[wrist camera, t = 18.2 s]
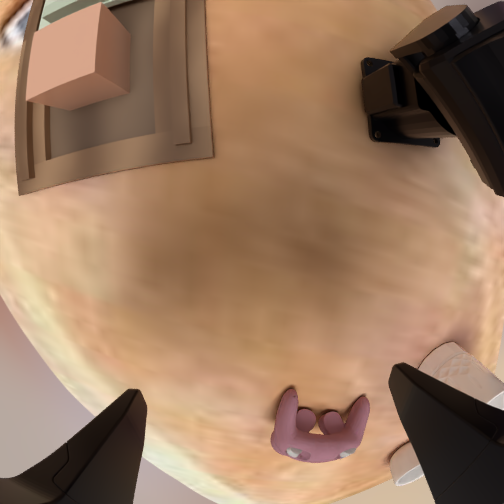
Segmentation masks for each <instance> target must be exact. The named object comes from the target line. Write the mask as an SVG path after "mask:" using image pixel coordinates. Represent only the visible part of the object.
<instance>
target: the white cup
mask: <svg viewBox="0 0 504 504" xmlns="http://www.w3.org/2000/svg"><path fill="white" fill-rule="evenodd" d="M418 370H420V371H422V372H424V373H426V374H428V375H430V376H432V377H434V378H435V379H437V380H439V381H441V382H443V383H445V384H447V385H449V386H451V387H453V388H455V389H457V390H459V391H461V392H464V393H466V394H468V395H470V396H472V397H474V399H475V398H476V399H478V400H480V401H482V402H484V403H486V404H489V405H491V406H493V407H496V408H499V409H501V410H504V383H503V382H502V381H501V380H499V379H498V378H497V377H496V376H495V375H494V374H493V373H492V372H491V371H490V370H489V369H488V368H487V367H485V366H484V365H483V364H482V363H481V362H480V361H478V360H477V359H476V358H475V357H474V356H472V355H471V354H469V353H467V352H466V351H465V350H464V349H463V348H462V347H461V346H459V345H458V344H456V343H455V342H449V343H444V344H443V345H441V346H439V347H438V348H436V349H435V350H433V351H432V352H431V353H430V354H429V355H428V356H427V357H426V358H425V359H424V361H423V362H422V364H421V365H420V367H419V368H418Z"/></svg>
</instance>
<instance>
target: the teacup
mask: <svg viewBox="0 0 504 504" xmlns="http://www.w3.org/2000/svg"><path fill="white" fill-rule="evenodd" d="M390 471H391V474H392V478H393V481H394V483H395V485H397V486H402V485H406V484H408V483H411V482H413V481H415V480H417V479H419V478H421V477H422V476H424V473H423V470H422V468H421V465H420V463H419V461H418V458H417V456H416V454H415V451H414V449H413V447H412V445H411V442H409V443H407V444H405V445H403V446H402V447H400V448H399V449H398V450H397V451H396V452H395V453H394V455H393V456H392V458H391V460H390Z"/></svg>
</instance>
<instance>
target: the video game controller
mask: <svg viewBox="0 0 504 504" xmlns="http://www.w3.org/2000/svg"><path fill="white" fill-rule="evenodd" d="M297 409H298V396H297V392H296V391H295V390H294V389H289V390H287V391H286V392H285V394H284V395H283V397H282V399H281V402H280V404H279V407H278V411H277V415H276V421H275V428H274V431H273V433H272V435H271V445H272V447H273V449H274V450H275V451H276V452H278V453H279V454H282V455H285V456H289V457H291V458H293V459H296V460H299V461H303V462H311V463H321V462H328V461H333V460H337V459H340V458H344V457H346V456H348V455H350V454H353V453H354V452H355V450H356V448H357V447H358V446H359V445H360V443H361V441H362V437H363V434H364V430H365V427H366V423H367V420H368V417H369V412H370V404H369V401H368V399H367V398H366V397H360V398H359V399H358V400H357V401H356V402H355V404H354V405H353V407H352V409H351V411H350V413H349V415H348V418H347V420H346V423H345V424H344V423H343V421H342V419H341V417H340V415H339V414H338V413H337V412H329V413H326V414H324V415H322V416H321V417H320V419H319V422H318V424H319V427H320V430H321V431H322V432H323V434H324V435H321V434H312V433H308V432H309V431H310V430H311V429H312V428H313V427H314V425H315V423H316V417H315V415H314V413H313V412H312V411H310V410H307V409H302V410H299V411H297Z"/></svg>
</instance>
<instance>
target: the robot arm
mask: <svg viewBox="0 0 504 504" xmlns="http://www.w3.org/2000/svg"><path fill="white" fill-rule="evenodd" d="M390 52H391V53H392V54H393V55H394V57H395V58H396V59H397V58H398V59H399V60H397V61H396V62H391V61H386V60H381V59H375V58H369V57H366V58H364V59H363V60H362V62H361V65H362V72H363V79H362V87H363V95H364V103H365V112H366V113H367V114H368V123H369V135H370V138H371V140H372V141H374V142H383V143H396V144H408V145H418V146H427V147H438V146H439V145H440V138H446V137H458V139H459V140H460V142H461V143H462V145H463V147H464V148H465V150H466V152H467V154H468V155H469V157H470V159H471V160H470V161H471V163H472V165H473V167H474V168H475V169H476V170H477V172H478V174H479V176H480V178H481V180H482V182H484V183H485V184H486V185H487V186H489V187H490V188H491V189H493V190H494V192H495V194H496V195H499V196H502V197H504V1H500V2H496V3H494V4H492V5H490V6H487V7H485V8H483V9H481V10H479V11H477V12H475V13H473V12H472V11H471V9H470V8H469V7H468V6H467V5H453V6H445V7H444V8H442V9H440V10H439V11H437V12H436V13H434V14H432V15H431V16H429V17H428V18H426V19H425V20H423V21H422V22H421V23H420V24H419V25H418V26H417V27H416V28H414V29H413V30H412V31H411V32H410V33H409V34H408V35H407V36H406V37H405V38H403V39H402V40H401V41H400V42H399V43H398V44H397V45H396V46H395V47H394V48H393V49H392V50H390ZM367 62H369V63H370V66H368V65H367ZM376 132H377V133H378V135H379V136H378V138H376V137H375V133H376ZM433 140H435V143H434V141H433ZM388 384H389V388H390V391H391V394H392V397H393V400H394V403H395V406H396V409H397V412H398V415H399V418H400V420H401V422H402V425H403V427H404V429H405V431H406V433H407V436H408V438H409V440H410V442H411V445H412V447H413V449H414V451H415V454H416V456H417V458H418V461H419V463H420V465H421V468H422V470H423V473H424V475H425V478H426V480H427V483H428V485H429V487H430V490H431V492H432V495H433V498H434V500H435V504H504V410H501V409H499V408H496V407H493V406H491V405H489V404H486V403H484V402H482V401H480V400H478V399H476V398H475V399H474V397H472V396H470V395H468V394H466V393H464V392H461V391H459V390H457V389H455V388H453V387H451V386H449V385H447V384H445V383H443V382H441V381H439V380H437V379H435V378H434V377H432V376H430V375H428V374H426V373H424V372H422V371H420V370H418V369H416V368H414V367H412V366H410V365H408V364H406V363H404V362H402V363H398V364H395V365H394V366H393V367H392V371H391V374H390V378H389V382H388ZM146 417H147V405H146V402H145V400H144V397H143V395H142V393H141V391H140V390H139V389H128V390H126V391H125V392H124V393H123V394H122V395H121V396H120V397H118V398H117V399H116V400H115V401H114V402H113V403H111V404H110V405H109V406H108V407H107V408H106V409H105V410H103V411H102V412H101V413H100V414H99V415H98V416H96V417H95V418H94V419H93V420H92V421H91V422H89V423H88V424H87V425H86V426H85V427H84V428H82V429H81V430H80V431H79V432H78V433H76V434H75V435H74V436H73V437H72V438H71V439H69V440H68V441H67V443H64V444H63V445H62V446H61V447H60V448H59V449H57V450H56V451H55V452H54V453H52V454H51V455H49V456H48V457H47V458H45V459H43V460H42V461H41V462H39V463H38V464H36V465H34V466H33V467H31V468H30V469H28V470H26V471H25V472H23V473H21V474H20V475H18V476H15V477H12V478H0V504H133V499H134V493H135V488H136V482H137V477H138V472H139V466H140V461H141V457H142V452H143V447H144V439H145V427H146Z"/></svg>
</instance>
